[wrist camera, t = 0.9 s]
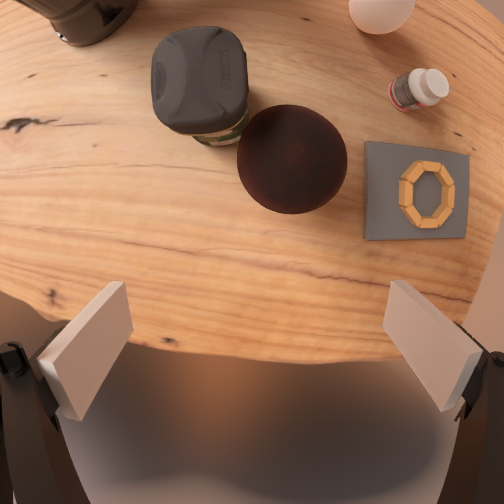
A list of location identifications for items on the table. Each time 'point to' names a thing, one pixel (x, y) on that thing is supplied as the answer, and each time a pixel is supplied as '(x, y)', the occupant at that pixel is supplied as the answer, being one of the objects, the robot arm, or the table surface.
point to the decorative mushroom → (291, 159)
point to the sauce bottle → (380, 14)
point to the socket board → (414, 192)
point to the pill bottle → (418, 89)
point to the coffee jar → (201, 84)
